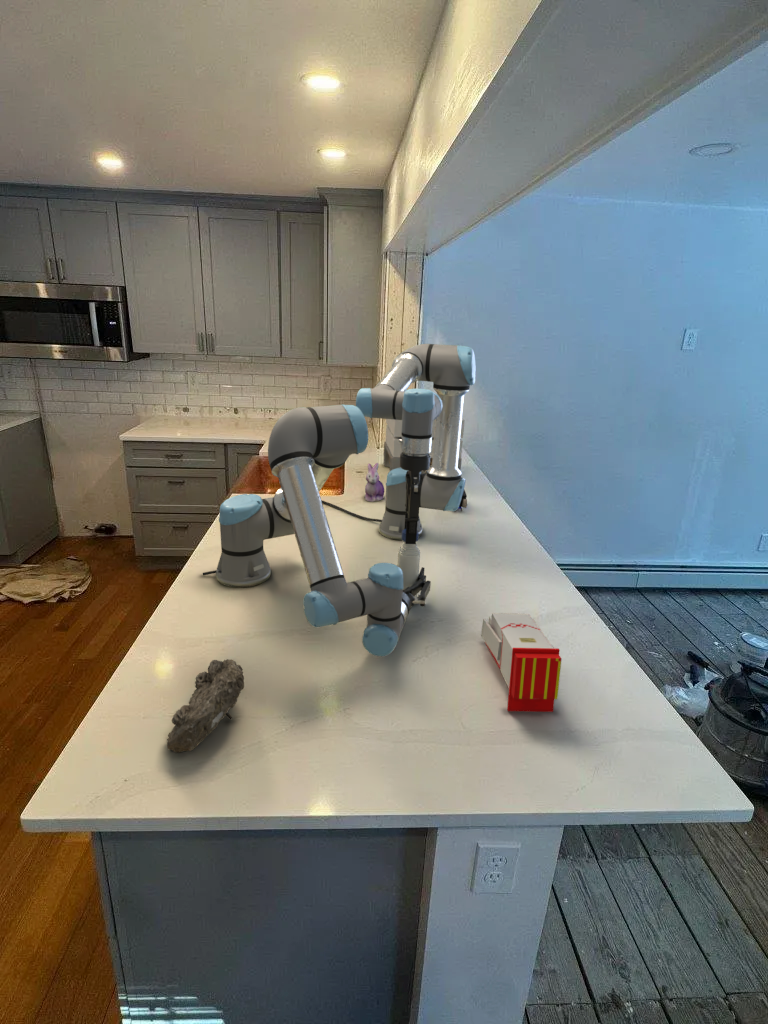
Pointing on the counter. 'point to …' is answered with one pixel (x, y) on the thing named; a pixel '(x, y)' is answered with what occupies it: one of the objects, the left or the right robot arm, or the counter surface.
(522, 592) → the counter surface
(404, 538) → the cap
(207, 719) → the fossil
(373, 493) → the figurine
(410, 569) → the bottle
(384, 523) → the right robot arm
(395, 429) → the grey slatted crate
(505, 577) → the counter surface
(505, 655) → the toy
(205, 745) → the counter surface
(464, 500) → the figurine character
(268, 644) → the counter surface
